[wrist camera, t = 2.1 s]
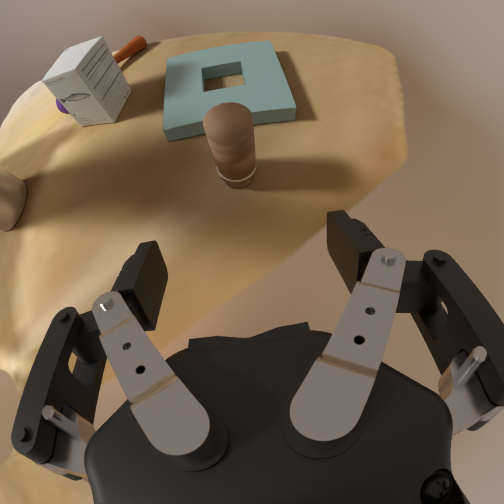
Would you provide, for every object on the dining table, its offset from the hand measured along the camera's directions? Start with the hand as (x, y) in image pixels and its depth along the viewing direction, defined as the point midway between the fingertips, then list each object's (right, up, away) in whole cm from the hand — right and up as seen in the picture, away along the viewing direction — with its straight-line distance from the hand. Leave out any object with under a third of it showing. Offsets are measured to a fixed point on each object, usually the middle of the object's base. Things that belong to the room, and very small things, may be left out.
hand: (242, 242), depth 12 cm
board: (-3, +22, +20) cm, 30 cm away
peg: (-1, +8, +17) cm, 19 cm away
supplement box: (-23, +22, +21) cm, 38 cm away
